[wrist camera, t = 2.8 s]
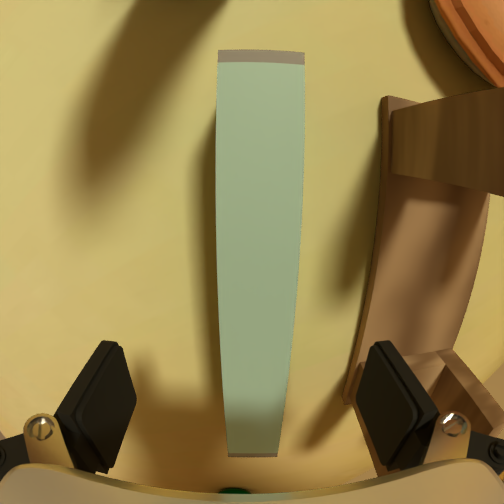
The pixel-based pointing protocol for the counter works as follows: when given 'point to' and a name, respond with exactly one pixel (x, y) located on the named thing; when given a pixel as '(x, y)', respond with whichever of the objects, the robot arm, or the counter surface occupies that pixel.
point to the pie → (475, 34)
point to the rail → (258, 237)
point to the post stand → (432, 246)
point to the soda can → (234, 491)
